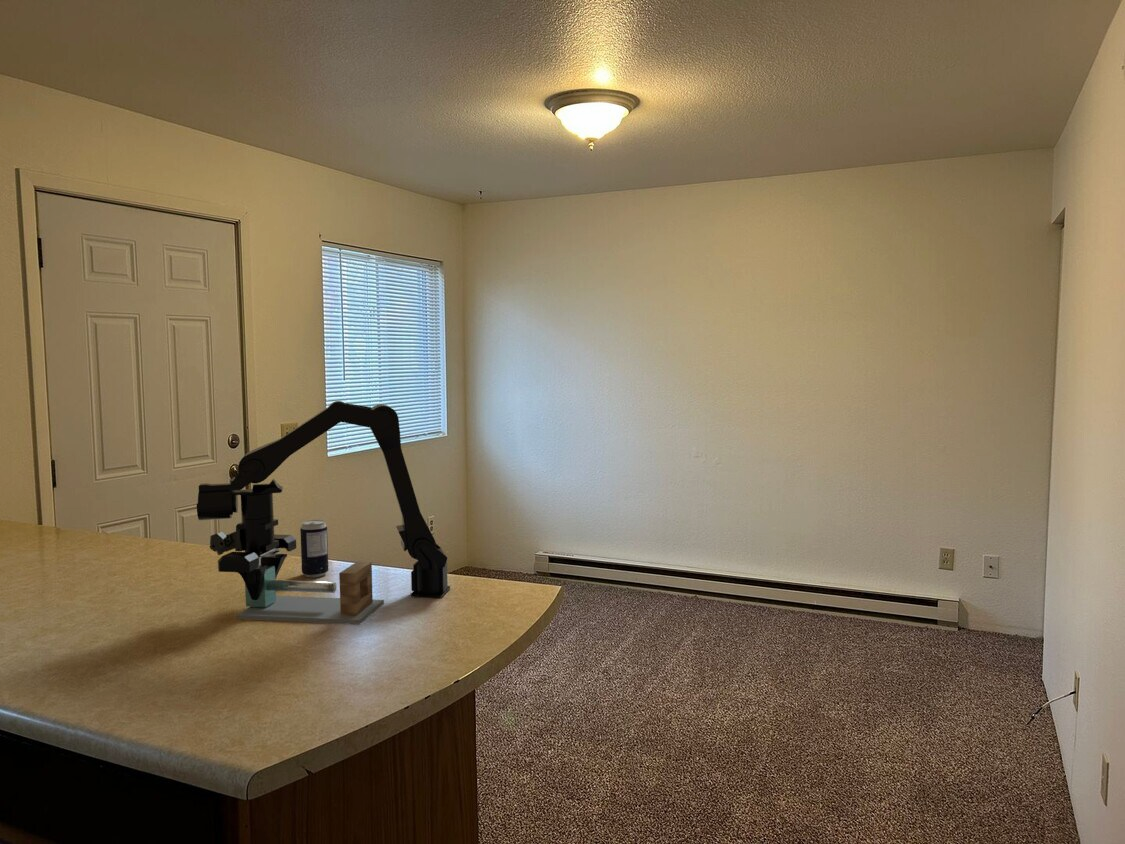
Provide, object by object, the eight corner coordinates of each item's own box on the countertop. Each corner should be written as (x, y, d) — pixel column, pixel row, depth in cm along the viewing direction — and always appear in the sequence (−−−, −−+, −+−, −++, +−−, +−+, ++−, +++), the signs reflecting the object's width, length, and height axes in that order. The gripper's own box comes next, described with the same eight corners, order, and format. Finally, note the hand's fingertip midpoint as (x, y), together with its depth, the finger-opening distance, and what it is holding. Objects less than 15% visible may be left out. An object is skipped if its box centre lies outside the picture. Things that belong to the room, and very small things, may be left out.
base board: (384, 603, 154) (383, 599, 154) (359, 624, 142) (359, 620, 142) (269, 599, 157) (269, 595, 157) (236, 619, 145) (236, 614, 145)
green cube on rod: (339, 603, 151) (338, 567, 150) (330, 609, 147) (329, 573, 146) (257, 600, 153) (255, 564, 153) (245, 606, 149) (244, 570, 149)
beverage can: (332, 571, 177) (330, 519, 176) (322, 578, 172) (320, 524, 171) (308, 571, 178) (306, 519, 177) (297, 578, 172) (295, 524, 171)
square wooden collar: (372, 602, 152) (371, 562, 151) (356, 616, 144) (354, 573, 143) (358, 602, 152) (356, 561, 152) (340, 615, 144) (339, 573, 144)
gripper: (245, 506, 160) (248, 581, 161) (188, 526, 142) (193, 610, 143) (296, 507, 158) (299, 583, 160) (246, 527, 140) (249, 612, 141)
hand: (261, 596), depth 151 cm, fingers closed on green cube on rod, 4 cm apart
